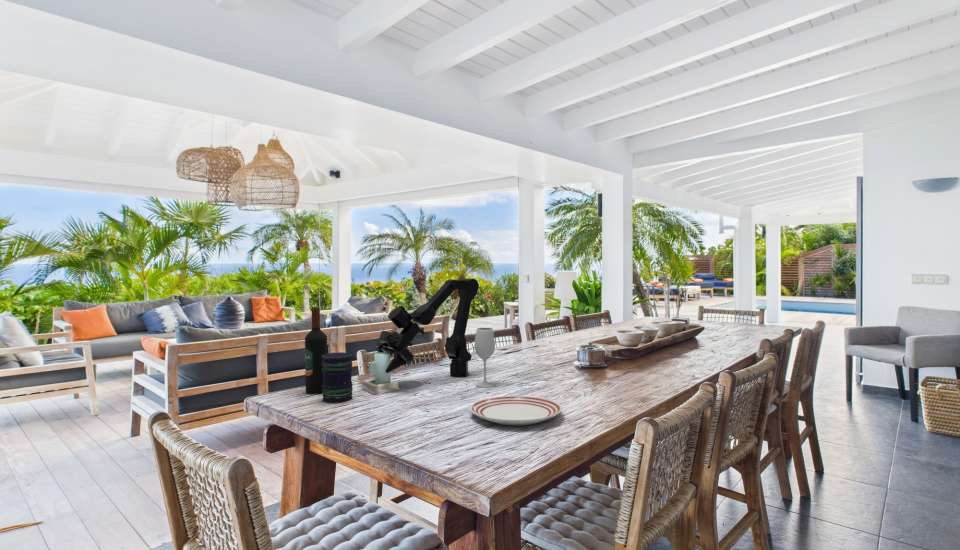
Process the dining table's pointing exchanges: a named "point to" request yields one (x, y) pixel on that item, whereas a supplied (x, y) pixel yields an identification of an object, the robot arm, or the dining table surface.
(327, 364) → the storage jar
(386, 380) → the pale green rounded piece
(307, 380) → the wine bottle
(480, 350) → the wineglass
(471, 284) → the robot arm
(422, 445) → the dining table surface
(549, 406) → the dinner plate
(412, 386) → the grey flat disc
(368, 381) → the frame
